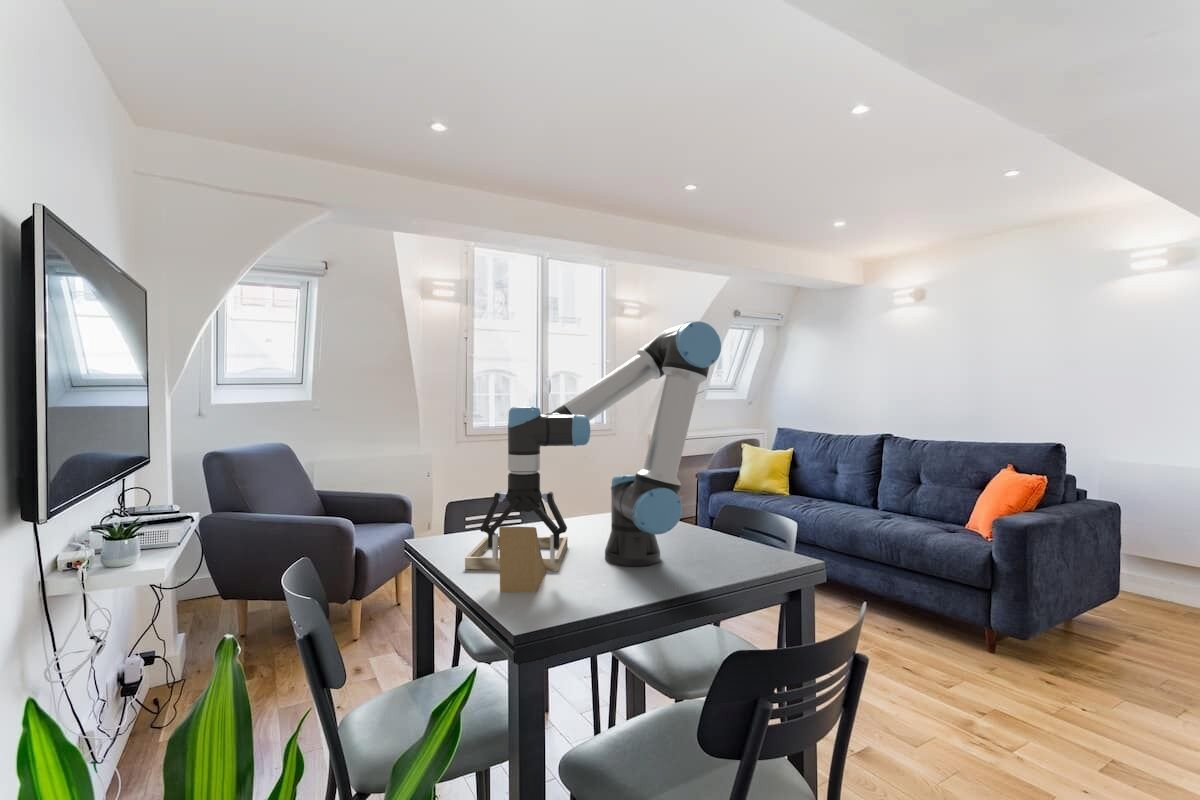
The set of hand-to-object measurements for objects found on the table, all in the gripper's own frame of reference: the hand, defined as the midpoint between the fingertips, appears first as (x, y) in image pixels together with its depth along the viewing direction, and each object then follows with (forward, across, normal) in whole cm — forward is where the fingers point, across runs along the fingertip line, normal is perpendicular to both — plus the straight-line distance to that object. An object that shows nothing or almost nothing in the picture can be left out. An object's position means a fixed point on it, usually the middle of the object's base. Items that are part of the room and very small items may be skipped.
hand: (523, 561), depth 140 cm
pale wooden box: (+5, +5, -23) cm, 24 cm away
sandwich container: (+6, 0, -2) cm, 6 cm away
